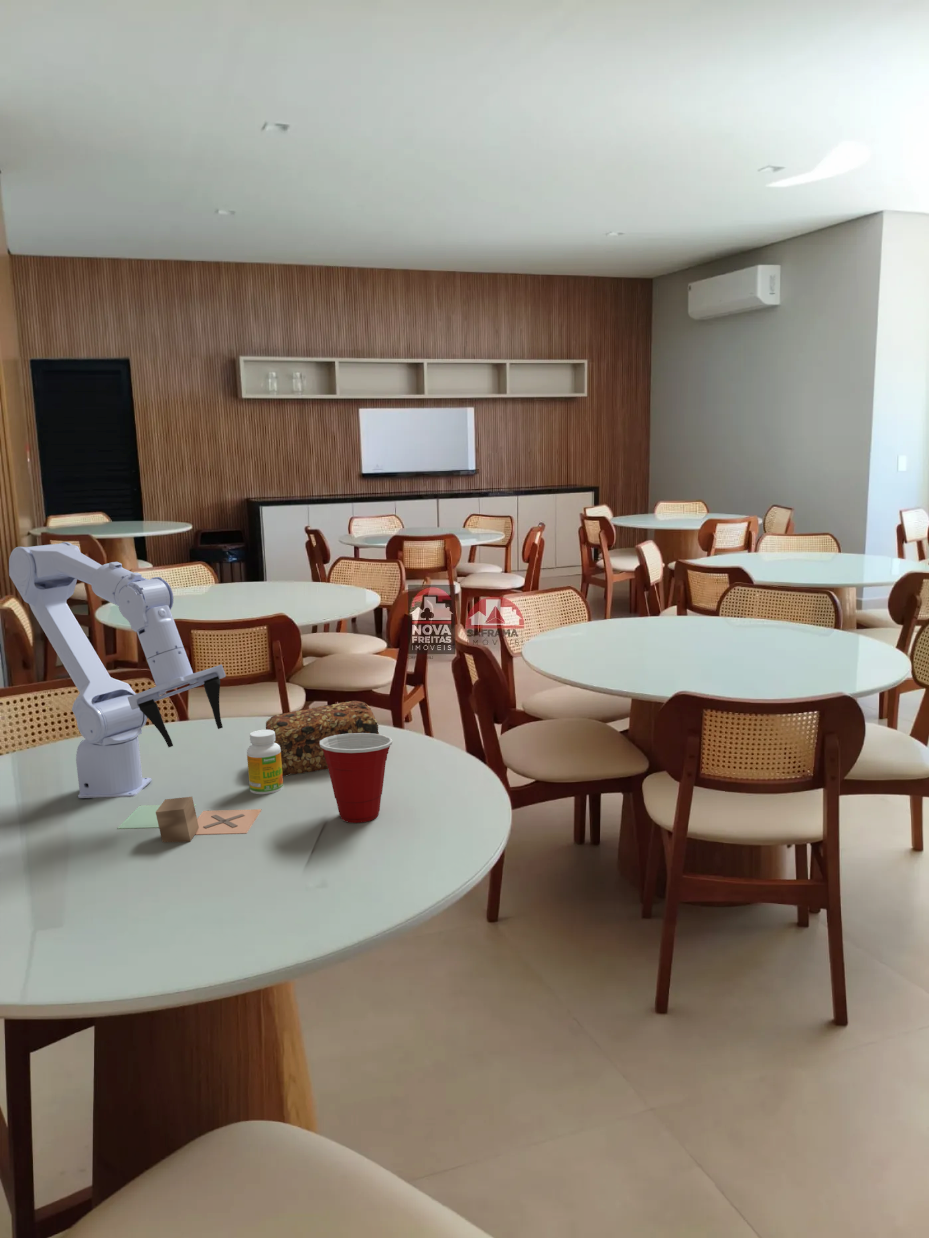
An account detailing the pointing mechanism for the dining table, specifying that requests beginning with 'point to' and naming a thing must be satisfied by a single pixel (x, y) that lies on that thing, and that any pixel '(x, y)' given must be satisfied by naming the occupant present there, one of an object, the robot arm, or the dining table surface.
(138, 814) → the tile
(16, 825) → the dining table surface
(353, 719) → the bread
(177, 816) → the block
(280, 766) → the supplement bottle
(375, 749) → the plastic cup
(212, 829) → the tile
